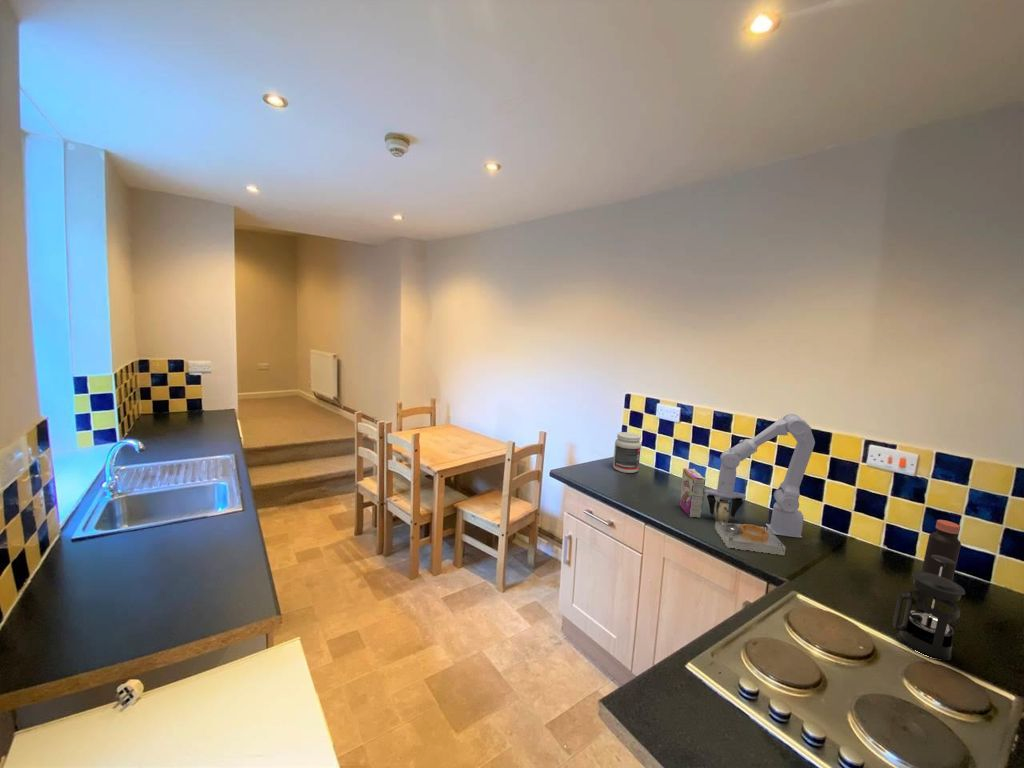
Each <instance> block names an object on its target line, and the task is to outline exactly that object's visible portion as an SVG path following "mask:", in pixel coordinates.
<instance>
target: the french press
mask: <svg viewBox="0 0 1024 768" xmlns="http://www.w3.org/2000/svg"><path fill="white" fill-rule="evenodd" d="M931 558H932V559H934V560H936V561H938V562H940V563H939V566H941V567H940V572H939V575H935V574H932V573H928V572H921V571H914V572H912V574H911V575H912V578H913V585H914V587H915V589H910V590H909V591H908V593H907V594H906V593H901V592H899V593H898V595H897V600H896V606H895V609H894V614H893V619H892V626H893V627H894V629H896V630H897V631H899V632H898V633H897V636H898V639H899V641H900V642H901V641H902V642H903V643H902V642H901V643H902V644H904V645H905V646H906V645H907V646H908V647H907V646H906V647H907V648H909V647H910V648H912V649H913V650H916V651H918V652H920V653H922V654H924V655H927V656H929V657H932V658H937V659H941V660H948V661H950V660H951V659H952V650H953V647H954V646H953V639H954V635H955V631H956V627H957V622H958V619H959V618H960V617H961V615H960V614H961V612H962V611H961V608H960V607H959V606H958V605H957V604H956V603H954V602H959V601H960V600H961V598H962V596H965V594H966V590H965V589H964V588H963V586H962V585H960V584H959V583H957V582H955V581H954V580H953V581H951V580H949V579H947V578H944V577H942V576H941V572H942V568H943V567H945V564H947V565H956V566H957V564H956V563H955V562H954V561H952V560H951V559H948V558H946V557H943V556H939V555H931ZM912 595H913V596H914V595H916V596H917V595H918V596H917V599H916V598H914V597H913V596H912ZM928 598H931V599H932V603H931V607H930V606H927V602H928V601H927V600H928ZM904 599H907V602H906V607H905V611H904V616H903V621H902V622H901V625H899V620H900V616H901V612H902V608H903V603H904ZM936 601H939V602H941V603H942V604H945V605H947V606H948V607H950V608H951V609H952V612H946V611H941V610H938V609H935V603H936ZM913 605H914V606H915V608H914V609H915V610H912V607H913ZM949 620H950V621H949ZM948 622H949V624H948ZM917 636H918V637H921V638H924V639H926V640H928V641H930V642H932V643H930V642H929V643H928V642H927V641H924V640H922V639H920V638H918V637H917ZM910 648H909V649H910ZM912 649H911V650H912ZM913 650H912V651H913Z"/></svg>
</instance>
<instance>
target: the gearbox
mask: <svg viewBox="0 0 1024 768" xmlns="http://www.w3.org/2000/svg"><path fill="white" fill-rule="evenodd" d="M714 530H715V531H716V533H717V535H718V534H719V535H718V536H719V538H720V537H721V538H720V539H721V541H722V540H723V541H722V542H723V544H724V543H725V544H724V546H725V547H726V546H727V547H726V548H727V549H730V548H735V549H734V550H738V549H740V550H739V551H746V550H750V551H749V552H753V551H755V553H761V552H763V553H762V554H768V553H770V555H776V554H777V556H785V554H786V549H787V548H786V545H784V544H783V542H782V541H781V540H780V539H779V538H778V537H777V535H775V534H774V533H773V532H772V531H771V530H770V529H769V528H768V527H767V526H759V525H755V524H748V523H743V524H741V523H734V522H727V523H726V522H721V521H717V520H715V523H714Z"/></svg>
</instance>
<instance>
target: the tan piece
mask: <svg viewBox="0 0 1024 768" xmlns="http://www.w3.org/2000/svg"><path fill="white" fill-rule="evenodd" d="M731 507H732V501H730V500H729V498H725V497H719V498H717V499H716V503H715V508H714V517H713V519H714V518H715V519H714V520H715V521H718V522H719V521H721V522H727V523H729V521H730V514H731Z"/></svg>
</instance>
